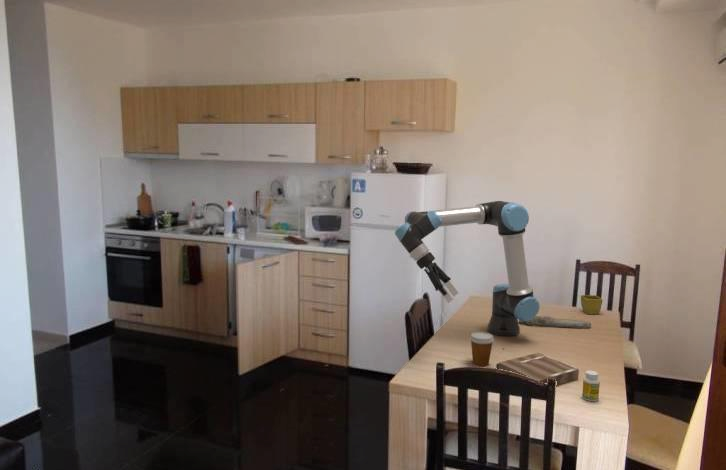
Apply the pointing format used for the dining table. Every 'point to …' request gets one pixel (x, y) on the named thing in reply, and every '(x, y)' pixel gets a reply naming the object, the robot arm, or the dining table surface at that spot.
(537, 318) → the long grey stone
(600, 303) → the flower pot
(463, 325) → the dining table surface
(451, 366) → the dining table surface
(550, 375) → the dock
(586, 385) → the supplement bottle
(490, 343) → the disposable coffee cup
